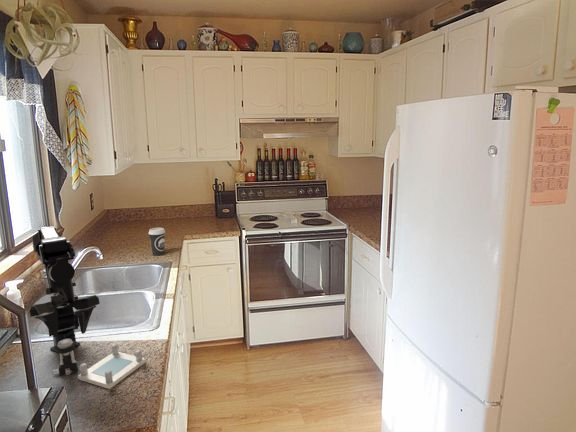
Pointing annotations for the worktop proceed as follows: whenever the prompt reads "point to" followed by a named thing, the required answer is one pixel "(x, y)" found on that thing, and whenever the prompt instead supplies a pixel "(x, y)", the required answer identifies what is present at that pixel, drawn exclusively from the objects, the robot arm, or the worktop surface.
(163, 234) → the coffee cup
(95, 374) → the board
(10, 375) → the worktop surface
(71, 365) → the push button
